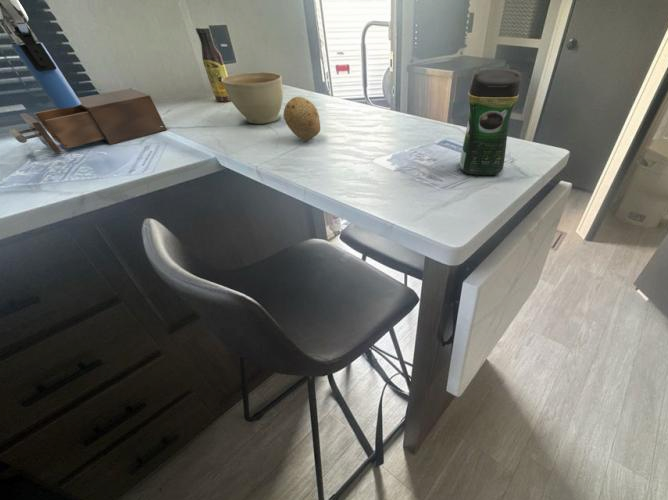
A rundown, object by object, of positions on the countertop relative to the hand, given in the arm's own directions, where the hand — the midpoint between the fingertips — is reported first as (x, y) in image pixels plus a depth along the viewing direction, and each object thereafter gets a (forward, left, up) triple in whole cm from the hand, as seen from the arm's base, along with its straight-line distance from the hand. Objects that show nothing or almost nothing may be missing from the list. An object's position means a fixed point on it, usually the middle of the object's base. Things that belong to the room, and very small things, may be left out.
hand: (42, 67), depth 63 cm
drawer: (-2, +16, -17) cm, 24 cm away
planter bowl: (+42, -5, -18) cm, 46 cm away
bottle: (0, 0, -7) cm, 7 cm away
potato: (+39, -29, -18) cm, 52 cm away
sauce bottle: (+47, +25, -18) cm, 56 cm away
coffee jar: (+51, -75, -18) cm, 92 cm away
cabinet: (+12, +16, -18) cm, 27 cm away
